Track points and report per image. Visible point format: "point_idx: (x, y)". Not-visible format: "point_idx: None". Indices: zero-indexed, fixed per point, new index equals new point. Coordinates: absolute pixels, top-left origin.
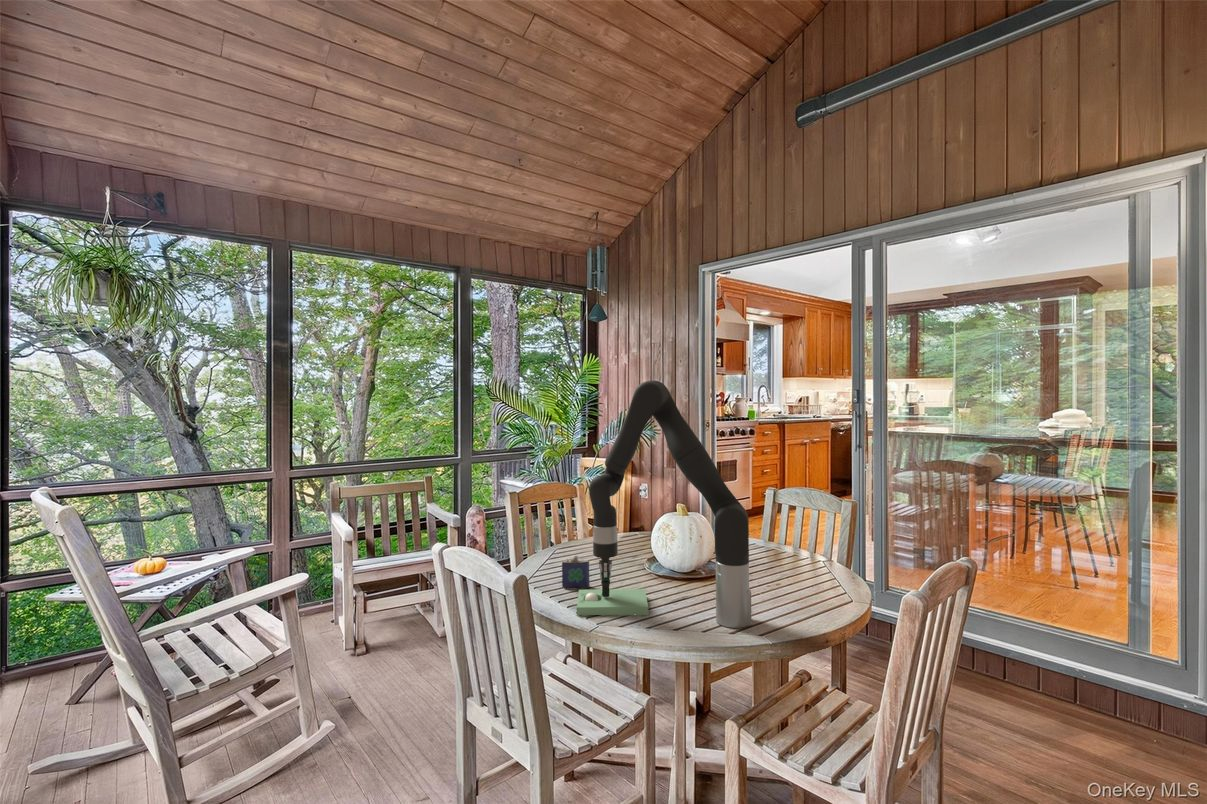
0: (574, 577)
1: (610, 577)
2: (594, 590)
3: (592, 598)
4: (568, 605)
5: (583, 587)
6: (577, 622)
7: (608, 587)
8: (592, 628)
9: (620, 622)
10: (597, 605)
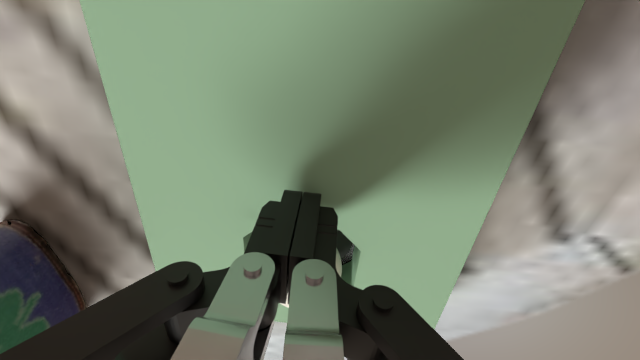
0: (22, 330)
1: (338, 336)
2: (165, 245)
3: None
4: None
5: (45, 249)
6: (497, 305)
7: (315, 246)
8: (607, 264)
9: (618, 118)
10: (433, 259)
